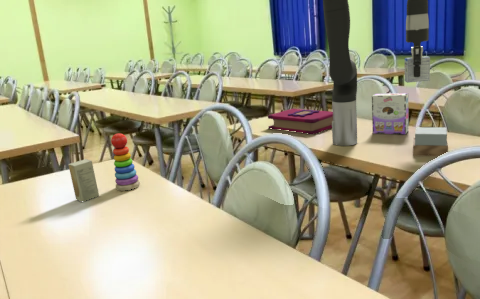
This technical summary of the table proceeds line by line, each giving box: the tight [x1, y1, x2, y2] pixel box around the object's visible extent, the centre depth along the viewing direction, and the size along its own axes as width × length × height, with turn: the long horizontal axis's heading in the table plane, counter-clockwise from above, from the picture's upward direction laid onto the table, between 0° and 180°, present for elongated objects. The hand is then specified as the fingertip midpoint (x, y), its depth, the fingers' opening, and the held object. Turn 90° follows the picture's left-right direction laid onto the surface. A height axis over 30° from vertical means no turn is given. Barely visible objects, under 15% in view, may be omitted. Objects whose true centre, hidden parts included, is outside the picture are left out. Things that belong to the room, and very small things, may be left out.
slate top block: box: [414, 126, 448, 146], centre depth 157 cm, size 10×10×4 cm
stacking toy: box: [110, 133, 141, 192], centre depth 147 cm, size 8×8×19 cm
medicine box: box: [404, 55, 431, 83], centre depth 162 cm, size 8×4×9 cm, turn 85°
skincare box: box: [68, 158, 100, 203], centre depth 142 cm, size 6×4×12 cm
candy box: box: [371, 92, 409, 135], centre depth 187 cm, size 14×6×16 cm, turn 58°
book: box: [267, 108, 333, 135], centre depth 213 cm, size 21×28×8 cm
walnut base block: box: [412, 137, 449, 157], centre depth 158 cm, size 11×11×4 cm
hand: (416, 75), depth 163 cm, fingers closed on medicine box, 5 cm apart
